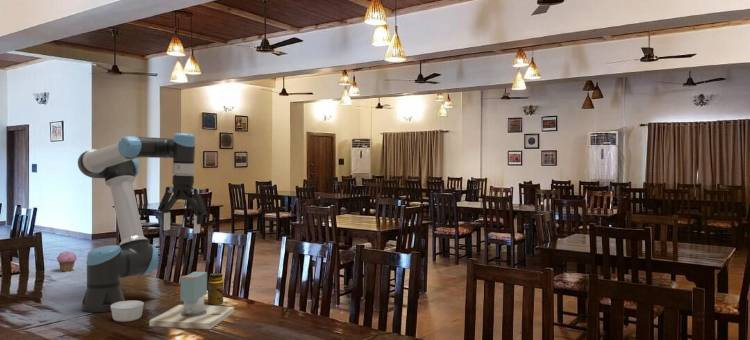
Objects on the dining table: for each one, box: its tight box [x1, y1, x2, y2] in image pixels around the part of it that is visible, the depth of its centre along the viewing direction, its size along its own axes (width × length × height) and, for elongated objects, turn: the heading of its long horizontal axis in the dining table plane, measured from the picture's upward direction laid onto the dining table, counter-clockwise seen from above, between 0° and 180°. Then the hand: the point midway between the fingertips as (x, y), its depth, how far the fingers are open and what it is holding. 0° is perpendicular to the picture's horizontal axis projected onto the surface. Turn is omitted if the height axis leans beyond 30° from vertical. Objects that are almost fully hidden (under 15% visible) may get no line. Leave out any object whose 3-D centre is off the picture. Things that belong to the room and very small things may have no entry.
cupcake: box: [56, 251, 77, 273], centre depth 285 cm, size 9×9×10 cm
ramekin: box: [110, 299, 145, 323], centre depth 201 cm, size 11×11×5 cm
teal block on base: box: [179, 271, 208, 314], centre depth 202 cm, size 12×7×14 cm, turn 176°
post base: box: [148, 304, 235, 330], centre depth 202 cm, size 22×22×2 cm
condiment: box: [204, 272, 227, 306], centre depth 224 cm, size 7×8×12 cm
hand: (181, 231), depth 207 cm, fingers open, 13 cm apart
